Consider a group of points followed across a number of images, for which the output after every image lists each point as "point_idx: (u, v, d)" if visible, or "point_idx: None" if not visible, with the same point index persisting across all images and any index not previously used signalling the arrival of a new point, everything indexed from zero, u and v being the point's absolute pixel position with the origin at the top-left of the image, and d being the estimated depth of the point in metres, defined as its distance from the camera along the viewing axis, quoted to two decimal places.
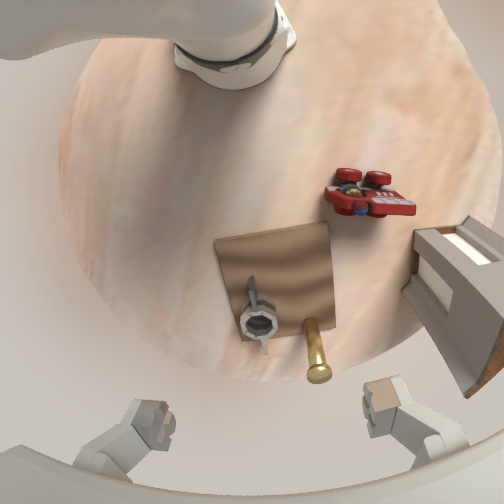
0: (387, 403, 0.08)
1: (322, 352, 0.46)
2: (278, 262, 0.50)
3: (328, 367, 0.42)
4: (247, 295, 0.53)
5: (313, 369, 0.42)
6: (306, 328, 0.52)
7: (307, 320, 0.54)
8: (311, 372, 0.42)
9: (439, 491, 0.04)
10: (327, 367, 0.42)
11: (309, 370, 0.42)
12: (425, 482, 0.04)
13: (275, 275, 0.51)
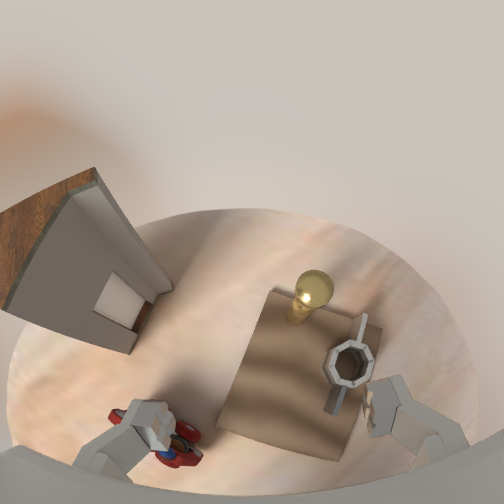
0: (387, 403, 0.08)
1: (296, 303, 0.34)
2: (289, 413, 0.36)
3: (297, 295, 0.30)
4: None
5: (318, 306, 0.29)
6: (302, 321, 0.39)
7: (297, 324, 0.41)
8: (322, 302, 0.29)
9: (439, 491, 0.04)
10: (298, 297, 0.30)
11: None
12: (425, 482, 0.04)
13: (301, 400, 0.37)
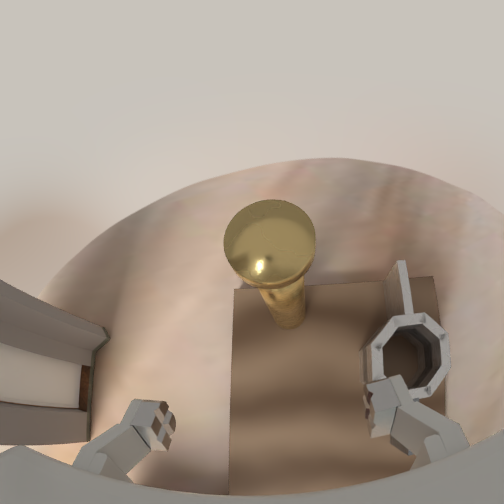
0: (387, 403, 0.08)
1: (260, 290, 0.16)
2: (336, 467, 0.18)
3: (235, 271, 0.13)
4: None
5: (291, 276, 0.12)
6: (299, 317, 0.22)
7: (295, 325, 0.24)
8: (299, 263, 0.12)
9: (439, 491, 0.04)
10: (239, 274, 0.12)
11: (305, 267, 0.12)
12: (425, 482, 0.04)
13: (348, 441, 0.19)
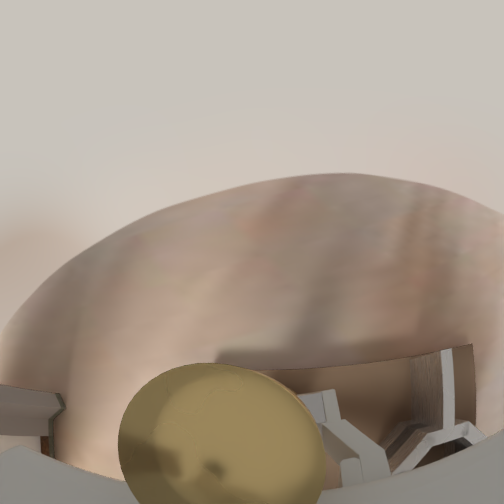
0: None
1: None
2: None
3: None
4: None
5: None
6: None
7: None
8: None
9: (439, 491, 0.04)
10: None
11: None
12: (425, 482, 0.04)
13: None
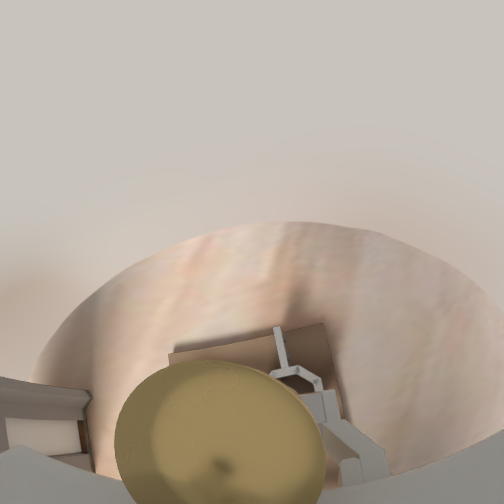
0: None
1: None
2: None
3: None
4: None
5: None
6: None
7: None
8: None
9: (439, 491, 0.04)
10: None
11: None
12: (425, 482, 0.04)
13: None
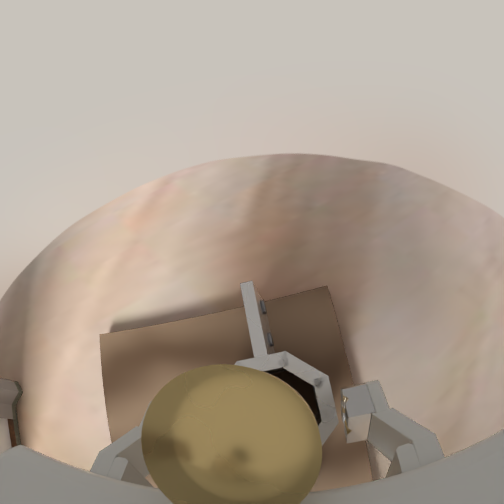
0: (362, 409, 0.08)
1: None
2: None
3: None
4: None
5: None
6: None
7: None
8: None
9: (439, 491, 0.04)
10: None
11: None
12: (425, 482, 0.04)
13: None
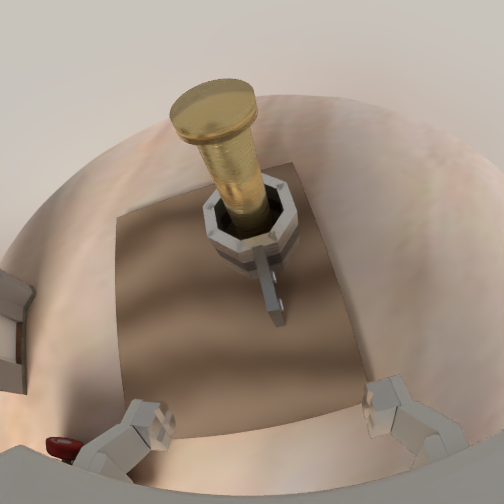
0: (387, 403, 0.08)
1: (213, 177, 0.16)
2: (221, 363, 0.21)
3: (179, 132, 0.12)
4: (289, 272, 0.23)
5: (229, 123, 0.11)
6: None
7: None
8: (237, 112, 0.11)
9: (439, 491, 0.04)
10: (181, 131, 0.12)
11: (245, 119, 0.12)
12: (425, 482, 0.04)
13: (227, 330, 0.22)
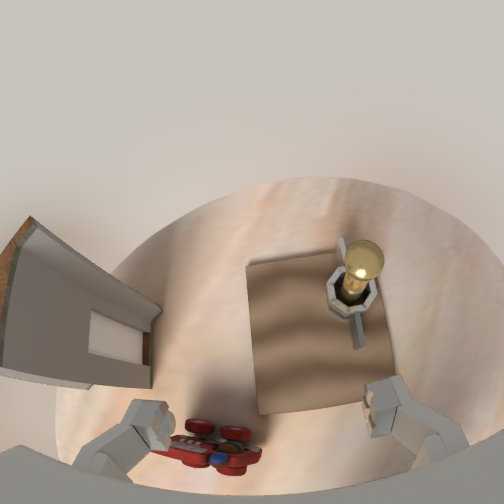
0: (387, 403, 0.08)
1: (349, 282, 0.31)
2: (322, 368, 0.36)
3: (349, 272, 0.27)
4: (362, 320, 0.38)
5: (374, 275, 0.26)
6: (357, 300, 0.36)
7: None
8: (377, 270, 0.26)
9: (439, 491, 0.04)
10: (351, 273, 0.27)
11: (379, 272, 0.27)
12: (425, 482, 0.04)
13: (326, 350, 0.37)
